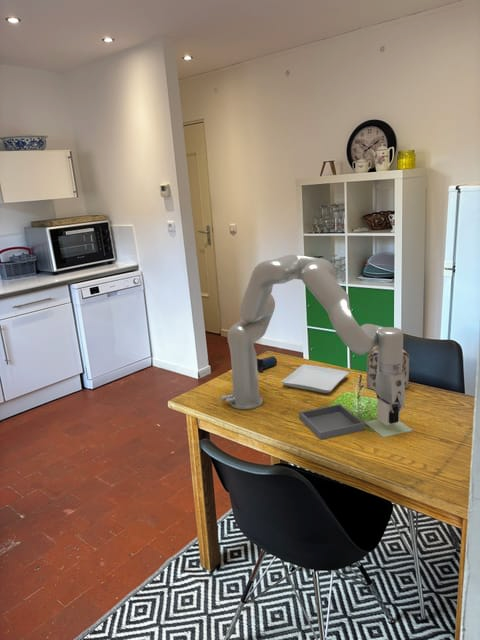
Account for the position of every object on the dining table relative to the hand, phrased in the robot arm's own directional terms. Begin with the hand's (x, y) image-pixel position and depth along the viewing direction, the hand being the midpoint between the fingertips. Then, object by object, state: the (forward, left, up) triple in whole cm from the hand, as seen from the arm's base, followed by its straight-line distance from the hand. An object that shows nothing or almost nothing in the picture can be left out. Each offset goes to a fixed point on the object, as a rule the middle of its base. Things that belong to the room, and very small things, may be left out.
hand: (388, 418), depth 160 cm
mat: (0, 0, -4) cm, 4 cm away
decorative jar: (+19, +28, -4) cm, 34 cm away
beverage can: (-17, +69, -4) cm, 71 cm away
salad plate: (-4, +44, -4) cm, 44 cm away
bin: (-16, +9, -4) cm, 19 cm away
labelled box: (0, 0, -1) cm, 1 cm away
